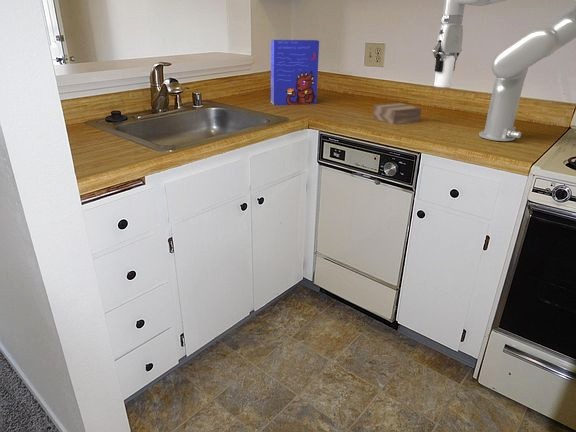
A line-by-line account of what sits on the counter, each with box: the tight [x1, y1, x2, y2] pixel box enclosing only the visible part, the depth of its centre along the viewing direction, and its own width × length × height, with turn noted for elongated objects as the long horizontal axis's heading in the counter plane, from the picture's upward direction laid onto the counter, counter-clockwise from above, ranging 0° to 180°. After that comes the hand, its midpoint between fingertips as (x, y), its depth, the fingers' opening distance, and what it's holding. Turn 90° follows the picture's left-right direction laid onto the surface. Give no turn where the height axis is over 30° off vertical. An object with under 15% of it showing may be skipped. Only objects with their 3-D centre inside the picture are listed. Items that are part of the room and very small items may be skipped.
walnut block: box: [372, 102, 422, 125], centre depth 187 cm, size 14×14×6 cm
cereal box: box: [270, 39, 320, 106], centre depth 210 cm, size 22×6×30 cm, turn 105°
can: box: [433, 53, 456, 89], centre depth 170 cm, size 6×6×12 cm
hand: (444, 70), depth 170 cm, fingers closed on can, 6 cm apart
